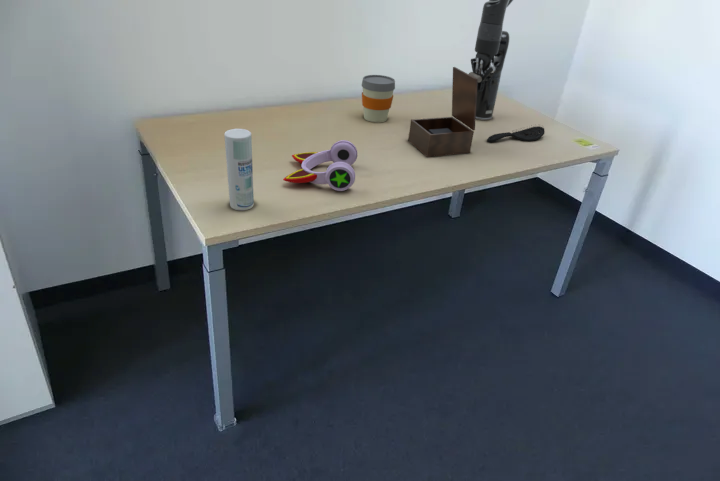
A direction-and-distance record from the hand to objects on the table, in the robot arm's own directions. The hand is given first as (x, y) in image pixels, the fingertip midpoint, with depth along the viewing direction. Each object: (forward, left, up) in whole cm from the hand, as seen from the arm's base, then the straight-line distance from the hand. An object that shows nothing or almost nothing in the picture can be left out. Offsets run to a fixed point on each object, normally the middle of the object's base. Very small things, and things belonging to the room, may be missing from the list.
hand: (478, 91), depth 178 cm
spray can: (+25, -85, -19) cm, 91 cm away
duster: (0, -12, -18) cm, 22 cm away
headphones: (+13, -59, -19) cm, 63 cm away
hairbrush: (-1, +21, -19) cm, 28 cm away
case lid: (0, -6, -2) cm, 6 cm away
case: (0, -12, -19) cm, 23 cm away
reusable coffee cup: (-31, -23, -19) cm, 43 cm away
